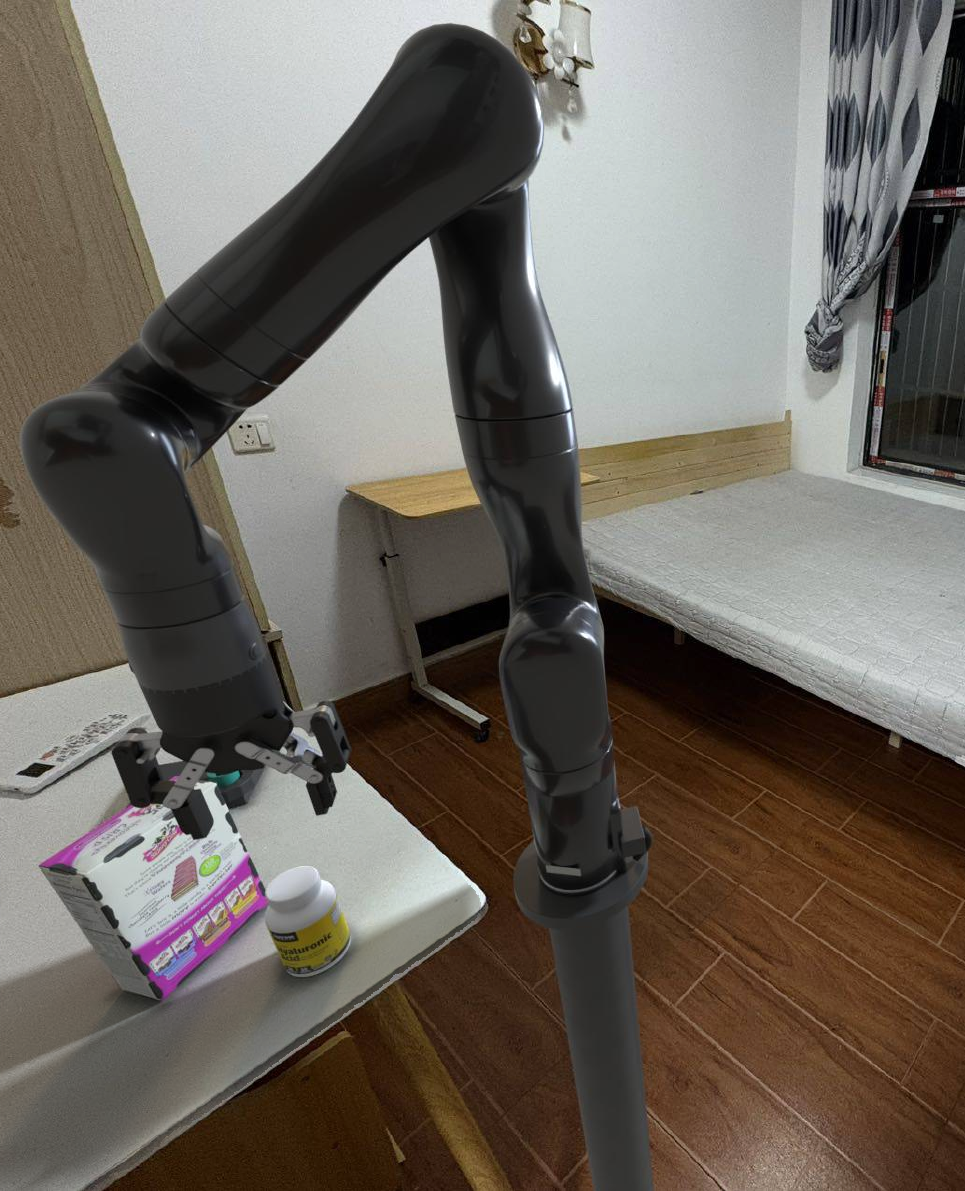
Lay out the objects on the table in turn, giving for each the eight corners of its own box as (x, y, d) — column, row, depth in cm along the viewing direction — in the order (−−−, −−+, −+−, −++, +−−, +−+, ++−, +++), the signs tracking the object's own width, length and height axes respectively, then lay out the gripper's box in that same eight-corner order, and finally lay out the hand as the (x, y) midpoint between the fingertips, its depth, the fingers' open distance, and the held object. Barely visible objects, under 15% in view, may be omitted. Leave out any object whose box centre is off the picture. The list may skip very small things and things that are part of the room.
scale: (279, 753, 89) (272, 735, 88) (253, 807, 80) (245, 788, 79) (160, 773, 84) (151, 755, 83) (118, 832, 75) (108, 813, 74)
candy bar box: (232, 892, 69) (176, 772, 62) (273, 901, 68) (221, 780, 61) (115, 993, 59) (32, 863, 52) (161, 1004, 58) (83, 874, 51)
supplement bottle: (278, 987, 60) (245, 915, 56) (294, 938, 64) (264, 867, 60) (346, 968, 62) (319, 897, 58) (357, 921, 66) (332, 852, 62)
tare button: (243, 771, 82) (239, 760, 81) (235, 785, 79) (231, 774, 79) (216, 775, 81) (211, 764, 80) (207, 790, 78) (202, 779, 78)
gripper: (326, 625, 55) (369, 775, 62) (107, 649, 50) (180, 809, 56) (302, 670, 48) (353, 831, 55) (49, 702, 43) (139, 875, 50)
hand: (266, 820), depth 56 cm, fingers open, 8 cm apart
